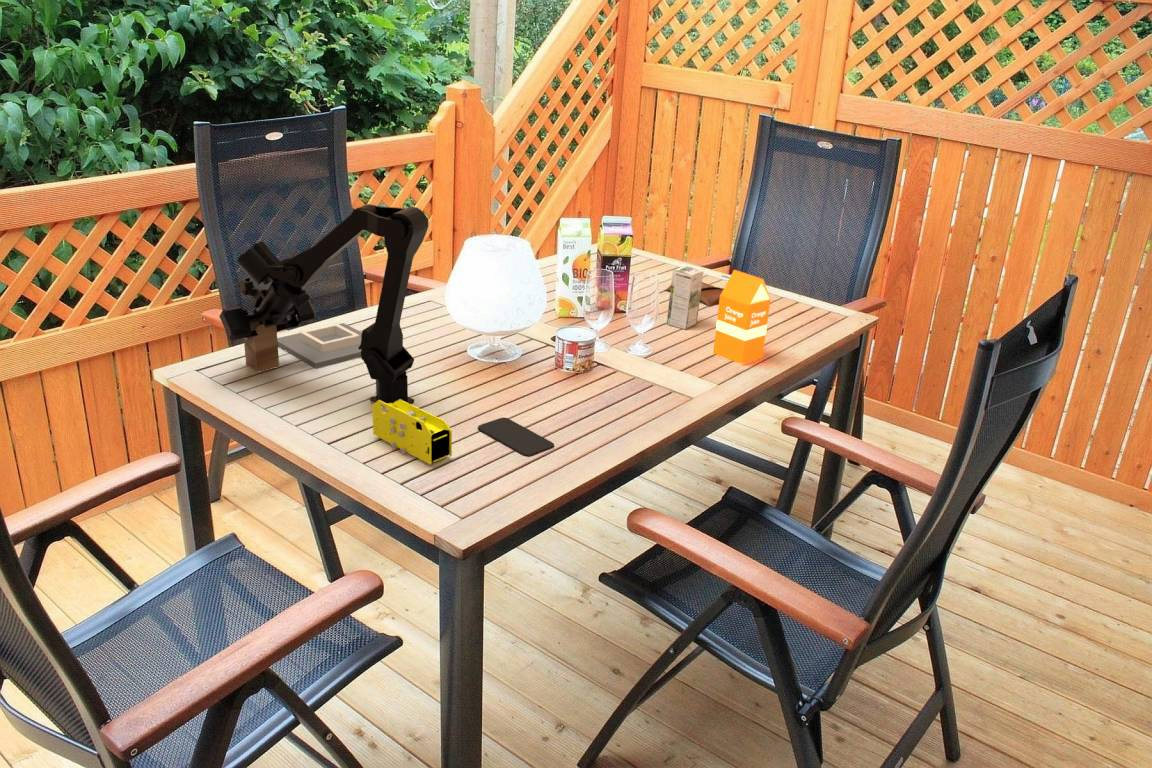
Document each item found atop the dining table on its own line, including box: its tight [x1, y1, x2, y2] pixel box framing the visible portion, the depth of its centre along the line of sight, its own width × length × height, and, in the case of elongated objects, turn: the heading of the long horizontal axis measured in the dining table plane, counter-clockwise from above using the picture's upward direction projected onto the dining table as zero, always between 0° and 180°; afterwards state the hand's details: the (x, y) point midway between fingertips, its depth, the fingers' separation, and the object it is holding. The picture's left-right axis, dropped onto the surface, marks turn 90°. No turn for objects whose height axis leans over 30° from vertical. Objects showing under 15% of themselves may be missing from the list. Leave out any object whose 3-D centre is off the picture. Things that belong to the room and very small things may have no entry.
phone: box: [477, 417, 555, 458], centre depth 180 cm, size 7×1×15 cm
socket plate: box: [277, 322, 362, 369], centre depth 216 cm, size 18×18×3 cm
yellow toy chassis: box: [371, 399, 453, 465], centre depth 172 cm, size 16×6×8 cm, turn 49°
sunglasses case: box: [663, 281, 724, 308], centre depth 266 cm, size 18×7×7 cm, turn 44°
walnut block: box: [243, 325, 280, 373], centre depth 203 cm, size 5×5×10 cm
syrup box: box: [666, 265, 704, 330], centre depth 241 cm, size 6×6×14 cm
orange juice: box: [712, 269, 771, 364], centre depth 222 cm, size 8×9×20 cm
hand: (257, 334), depth 203 cm, fingers open, 5 cm apart
